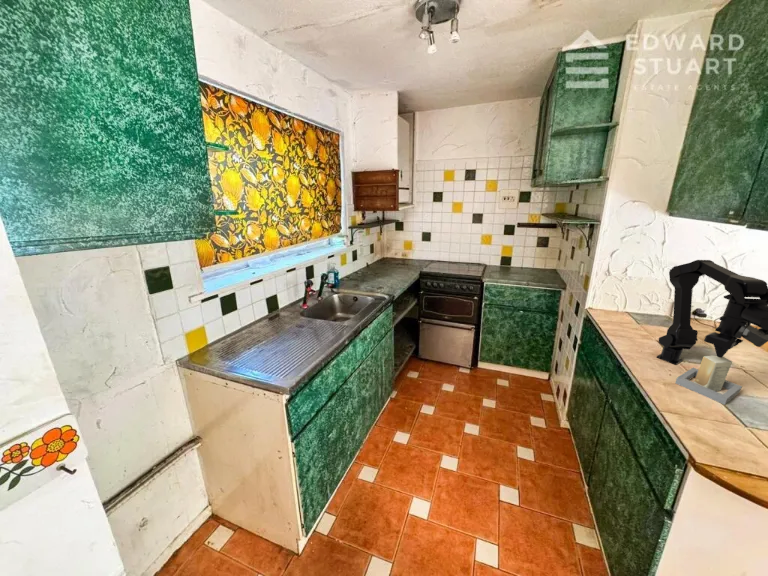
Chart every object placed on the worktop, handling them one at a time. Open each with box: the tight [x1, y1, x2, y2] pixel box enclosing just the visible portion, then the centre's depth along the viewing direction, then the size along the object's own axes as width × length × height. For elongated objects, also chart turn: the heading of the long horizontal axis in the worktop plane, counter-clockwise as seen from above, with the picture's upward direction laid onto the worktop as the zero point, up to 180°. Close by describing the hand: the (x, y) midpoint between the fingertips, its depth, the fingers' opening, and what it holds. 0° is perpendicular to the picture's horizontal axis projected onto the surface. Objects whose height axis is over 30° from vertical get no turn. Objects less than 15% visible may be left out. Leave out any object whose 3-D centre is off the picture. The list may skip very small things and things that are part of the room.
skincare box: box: [693, 354, 733, 392], centre depth 107 cm, size 6×4×12 cm
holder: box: [675, 367, 743, 405], centre depth 109 cm, size 13×13×2 cm
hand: (719, 356), depth 105 cm, fingers closed
